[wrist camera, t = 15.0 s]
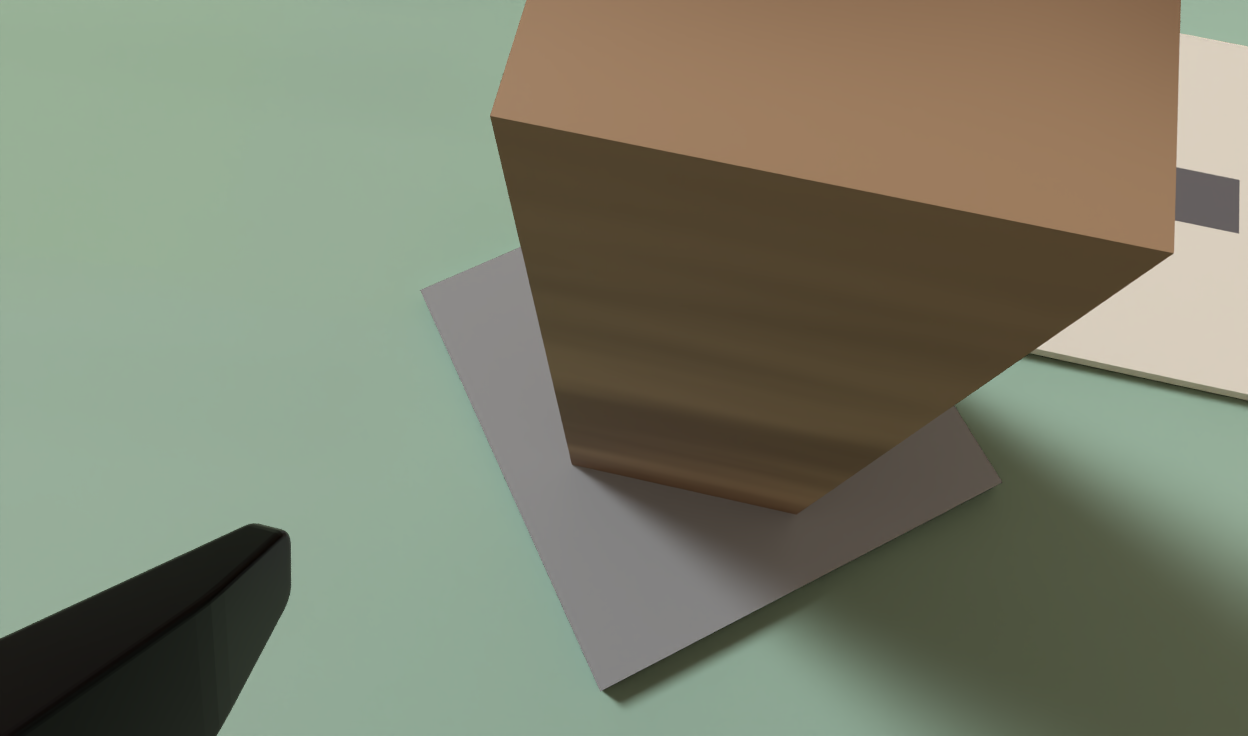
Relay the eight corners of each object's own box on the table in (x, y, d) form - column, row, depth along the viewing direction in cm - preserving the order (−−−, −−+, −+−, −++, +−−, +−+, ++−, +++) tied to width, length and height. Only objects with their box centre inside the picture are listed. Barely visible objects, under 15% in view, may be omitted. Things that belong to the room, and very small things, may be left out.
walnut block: (796, 514, 17) (1174, 252, 6) (572, 464, 17) (490, 116, 6) (830, 305, 18) (1187, -251, 7) (621, 261, 19) (634, -343, 7)
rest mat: (993, 486, 18) (1001, 482, 17) (600, 689, 16) (600, 691, 16) (781, 143, 20) (784, 133, 20) (424, 297, 19) (420, 289, 18)
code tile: (1322, 416, 18) (1334, 412, 18) (903, 325, 19) (907, 320, 18) (1315, 69, 21) (1325, 61, 21) (948, -2, 21) (953, -11, 21)
